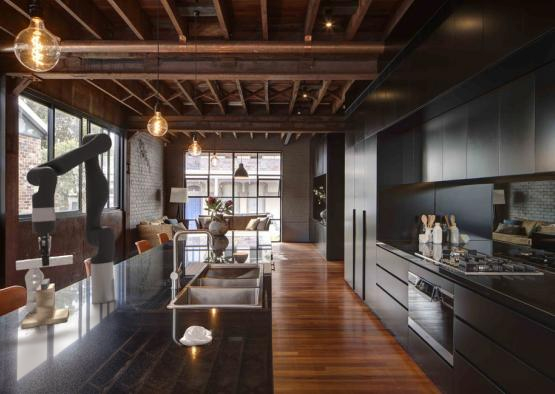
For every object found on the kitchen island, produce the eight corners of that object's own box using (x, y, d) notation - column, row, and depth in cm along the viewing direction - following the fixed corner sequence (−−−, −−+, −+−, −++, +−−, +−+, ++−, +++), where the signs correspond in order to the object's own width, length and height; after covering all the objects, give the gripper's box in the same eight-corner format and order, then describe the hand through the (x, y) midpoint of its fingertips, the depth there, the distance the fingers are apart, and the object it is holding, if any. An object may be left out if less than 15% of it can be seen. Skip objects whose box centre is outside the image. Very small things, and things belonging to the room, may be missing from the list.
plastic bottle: (36, 315, 145) (34, 265, 145) (21, 315, 146) (20, 265, 146) (49, 310, 151) (47, 262, 151) (35, 310, 152) (33, 262, 152)
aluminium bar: (72, 262, 144) (72, 255, 144) (72, 263, 141) (72, 255, 141) (17, 268, 135) (17, 260, 135) (16, 270, 132) (15, 261, 132)
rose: (196, 319, 118) (219, 323, 113) (197, 333, 118) (219, 338, 113) (172, 329, 109) (195, 334, 104) (172, 344, 109) (196, 350, 104)
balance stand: (68, 311, 148) (67, 276, 148) (67, 321, 135) (65, 282, 135) (27, 318, 141) (26, 280, 141) (21, 328, 129) (20, 287, 129)
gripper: (54, 219, 134) (56, 266, 134) (56, 218, 146) (58, 261, 146) (30, 221, 130) (32, 269, 130) (34, 220, 142) (36, 264, 142)
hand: (46, 265), depth 138 cm, fingers closed on aluminium bar, 3 cm apart
